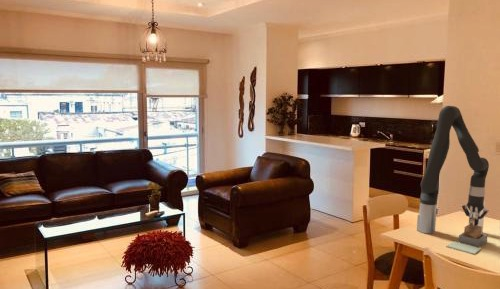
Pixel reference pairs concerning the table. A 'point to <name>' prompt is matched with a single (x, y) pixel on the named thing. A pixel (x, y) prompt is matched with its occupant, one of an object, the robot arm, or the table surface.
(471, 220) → the caddy
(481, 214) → the milk
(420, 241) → the table surface
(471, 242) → the holder
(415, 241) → the table surface
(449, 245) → the mat
